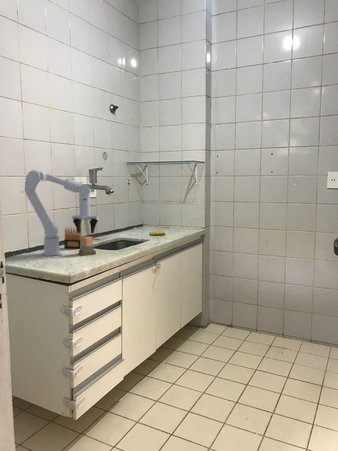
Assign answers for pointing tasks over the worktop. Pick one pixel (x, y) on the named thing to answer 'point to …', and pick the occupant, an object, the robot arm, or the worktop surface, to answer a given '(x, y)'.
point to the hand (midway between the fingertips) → (85, 232)
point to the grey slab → (87, 248)
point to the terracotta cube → (86, 241)
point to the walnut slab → (87, 253)
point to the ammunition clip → (72, 239)
